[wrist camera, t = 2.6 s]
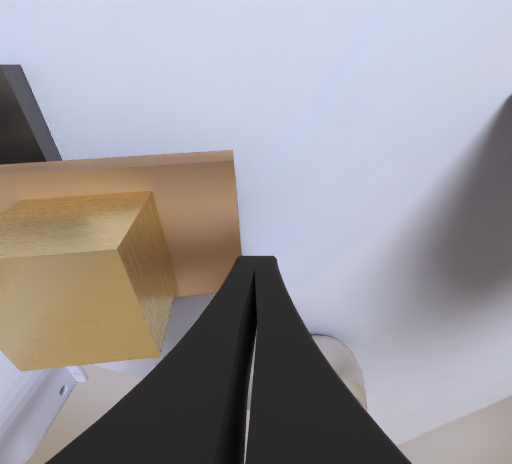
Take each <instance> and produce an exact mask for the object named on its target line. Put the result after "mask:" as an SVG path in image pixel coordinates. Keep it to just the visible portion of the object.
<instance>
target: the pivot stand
mask: <svg viewBox="0 0 512 464" xmlns="http://www.w3.org/2000/svg"><path fill="white" fill-rule="evenodd" d="M50 161H62V159H61V157H60V155H59V152H58V150H57V148H56V146H55V143H54V141H53V139H52V137H51V134H50V132H49V130H48V128H47V125H46V123H45V121H44V118H43V116H42V114H41V112H40V109H39V107H38V105H37V103H36V100H35V98H34V96H33V93H32V91H31V89H30V87H29V84H28V82H27V80H26V78H25V75H24V73H23V71H22V68H21V66H20V65H0V165H3V164H18V163H34V162H50Z"/></svg>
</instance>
